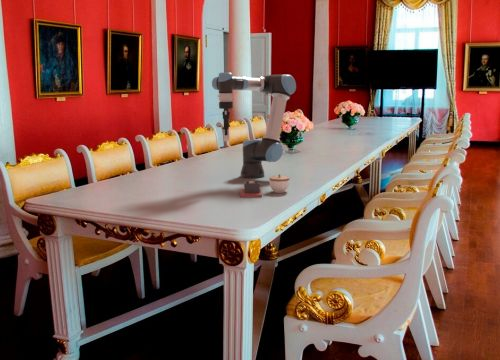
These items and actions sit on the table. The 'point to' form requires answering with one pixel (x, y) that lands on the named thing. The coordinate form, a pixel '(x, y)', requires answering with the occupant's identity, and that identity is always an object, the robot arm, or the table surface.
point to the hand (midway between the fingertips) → (226, 140)
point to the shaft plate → (251, 193)
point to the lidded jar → (279, 183)
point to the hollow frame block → (251, 187)
